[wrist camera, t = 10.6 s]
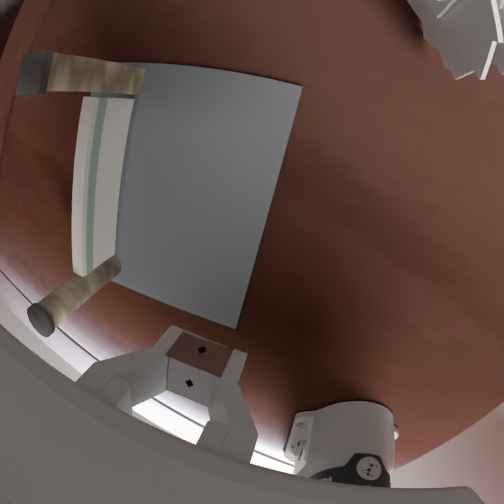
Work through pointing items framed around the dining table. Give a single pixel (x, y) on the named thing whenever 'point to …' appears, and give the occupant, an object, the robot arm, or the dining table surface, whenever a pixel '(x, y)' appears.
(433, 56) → the dining table surface
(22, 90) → the gate posts
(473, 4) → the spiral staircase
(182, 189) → the mat
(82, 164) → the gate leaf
